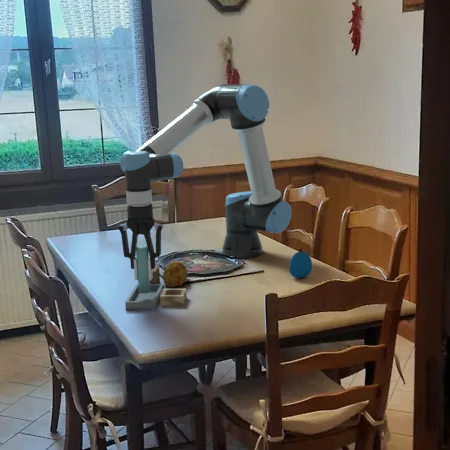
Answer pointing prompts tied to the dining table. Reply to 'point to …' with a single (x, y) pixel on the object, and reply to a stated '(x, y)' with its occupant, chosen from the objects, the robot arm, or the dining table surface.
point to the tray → (144, 298)
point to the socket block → (173, 297)
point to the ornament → (300, 264)
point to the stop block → (155, 275)
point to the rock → (175, 274)
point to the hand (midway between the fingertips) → (143, 278)
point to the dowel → (143, 269)
